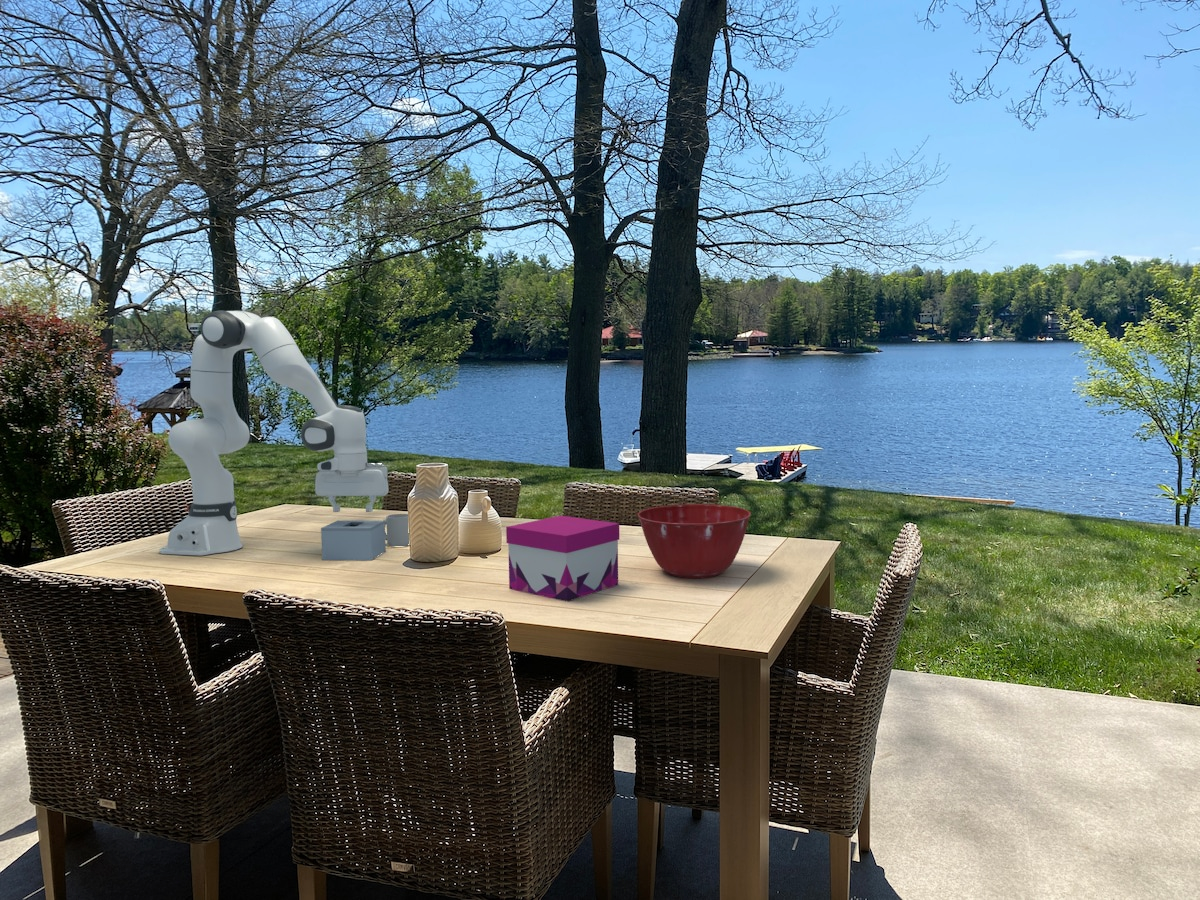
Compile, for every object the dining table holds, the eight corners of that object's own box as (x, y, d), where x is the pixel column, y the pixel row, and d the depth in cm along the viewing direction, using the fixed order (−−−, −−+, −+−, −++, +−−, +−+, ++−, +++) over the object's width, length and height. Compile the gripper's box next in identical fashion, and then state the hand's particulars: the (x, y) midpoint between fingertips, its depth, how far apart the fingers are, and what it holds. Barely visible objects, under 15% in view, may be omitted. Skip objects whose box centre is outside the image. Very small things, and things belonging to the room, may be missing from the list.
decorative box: (561, 573, 213) (560, 515, 212) (619, 585, 201) (619, 523, 200) (507, 589, 199) (506, 526, 197) (567, 602, 187) (566, 536, 185)
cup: (404, 548, 247) (403, 518, 247) (374, 546, 250) (373, 517, 249) (416, 543, 254) (415, 514, 254) (386, 541, 257) (385, 513, 256)
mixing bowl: (660, 590, 196) (659, 525, 194) (624, 564, 223) (623, 506, 222) (770, 581, 203) (770, 518, 202) (722, 556, 231) (722, 501, 229)
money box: (322, 560, 232) (321, 528, 231) (338, 551, 244) (337, 520, 243) (371, 560, 231) (370, 528, 230) (385, 551, 243) (384, 520, 242)
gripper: (390, 461, 238) (392, 509, 239) (320, 461, 239) (322, 509, 240) (383, 464, 231) (385, 513, 233) (311, 464, 233) (313, 513, 234)
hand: (352, 511), depth 237 cm, fingers open, 8 cm apart
